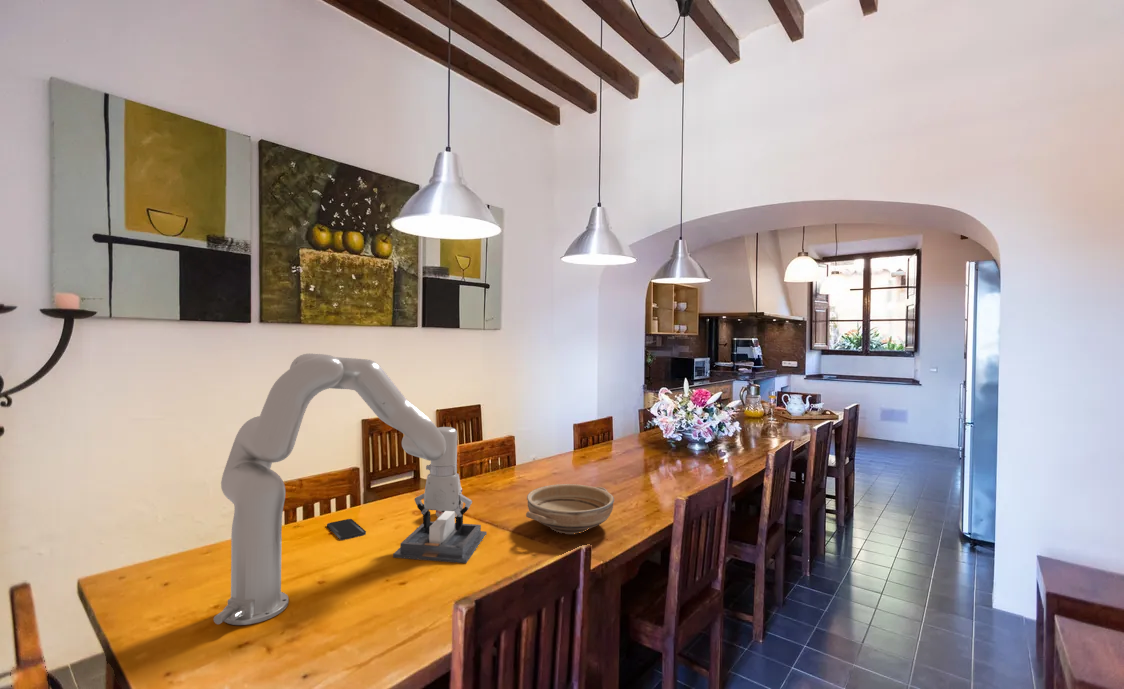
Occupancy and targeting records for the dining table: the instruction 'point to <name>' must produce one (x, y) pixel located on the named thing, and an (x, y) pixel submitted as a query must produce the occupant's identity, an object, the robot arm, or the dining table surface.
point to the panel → (442, 527)
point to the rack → (442, 545)
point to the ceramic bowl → (570, 507)
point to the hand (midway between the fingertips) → (442, 527)
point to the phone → (346, 529)
